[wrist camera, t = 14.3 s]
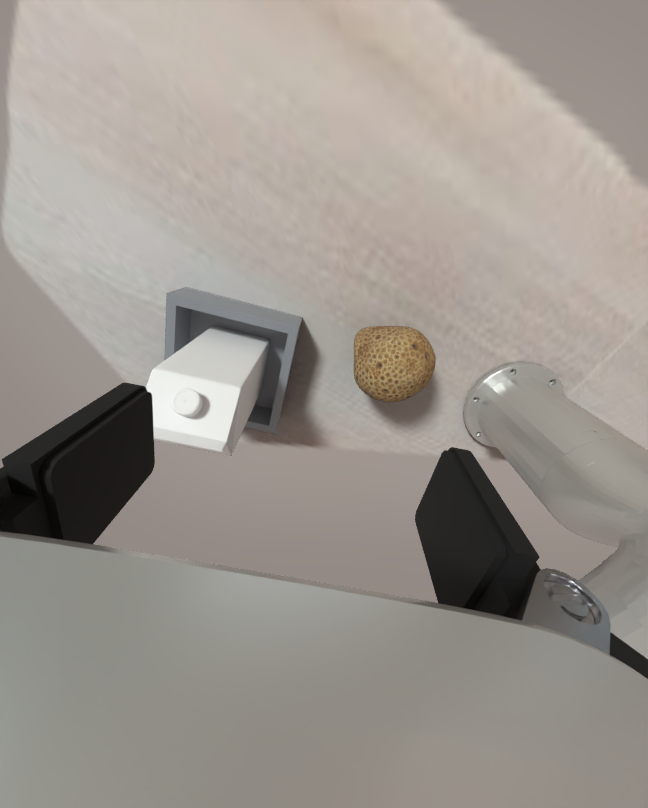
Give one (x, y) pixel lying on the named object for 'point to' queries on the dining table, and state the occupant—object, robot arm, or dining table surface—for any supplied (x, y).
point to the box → (203, 310)
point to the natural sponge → (392, 362)
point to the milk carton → (208, 390)
